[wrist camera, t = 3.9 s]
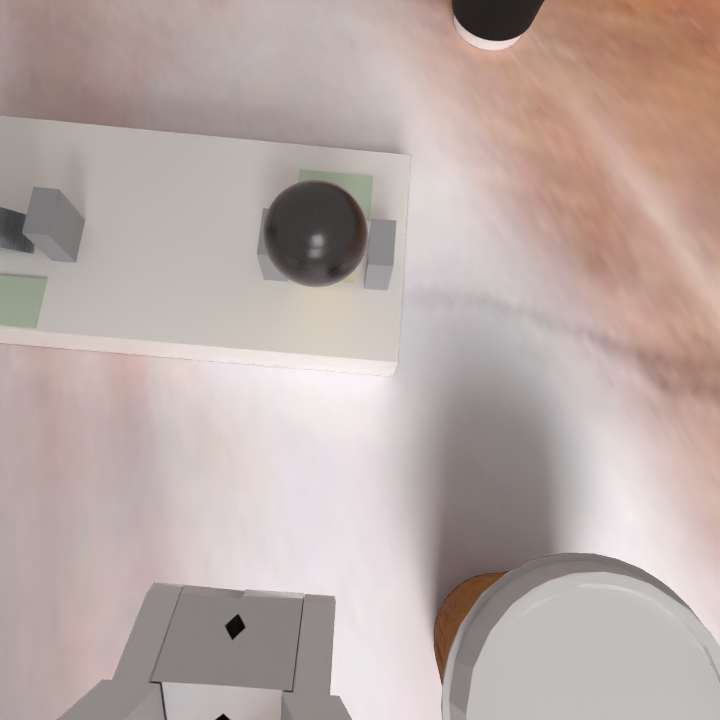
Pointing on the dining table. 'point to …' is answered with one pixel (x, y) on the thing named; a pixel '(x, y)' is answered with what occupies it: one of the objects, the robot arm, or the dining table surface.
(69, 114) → the dining table surface
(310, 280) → the brass lever
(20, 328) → the switch panel
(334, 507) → the dining table surface
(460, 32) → the dixie cup
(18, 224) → the steel lever
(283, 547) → the dining table surface
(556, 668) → the disposable coffee cup
